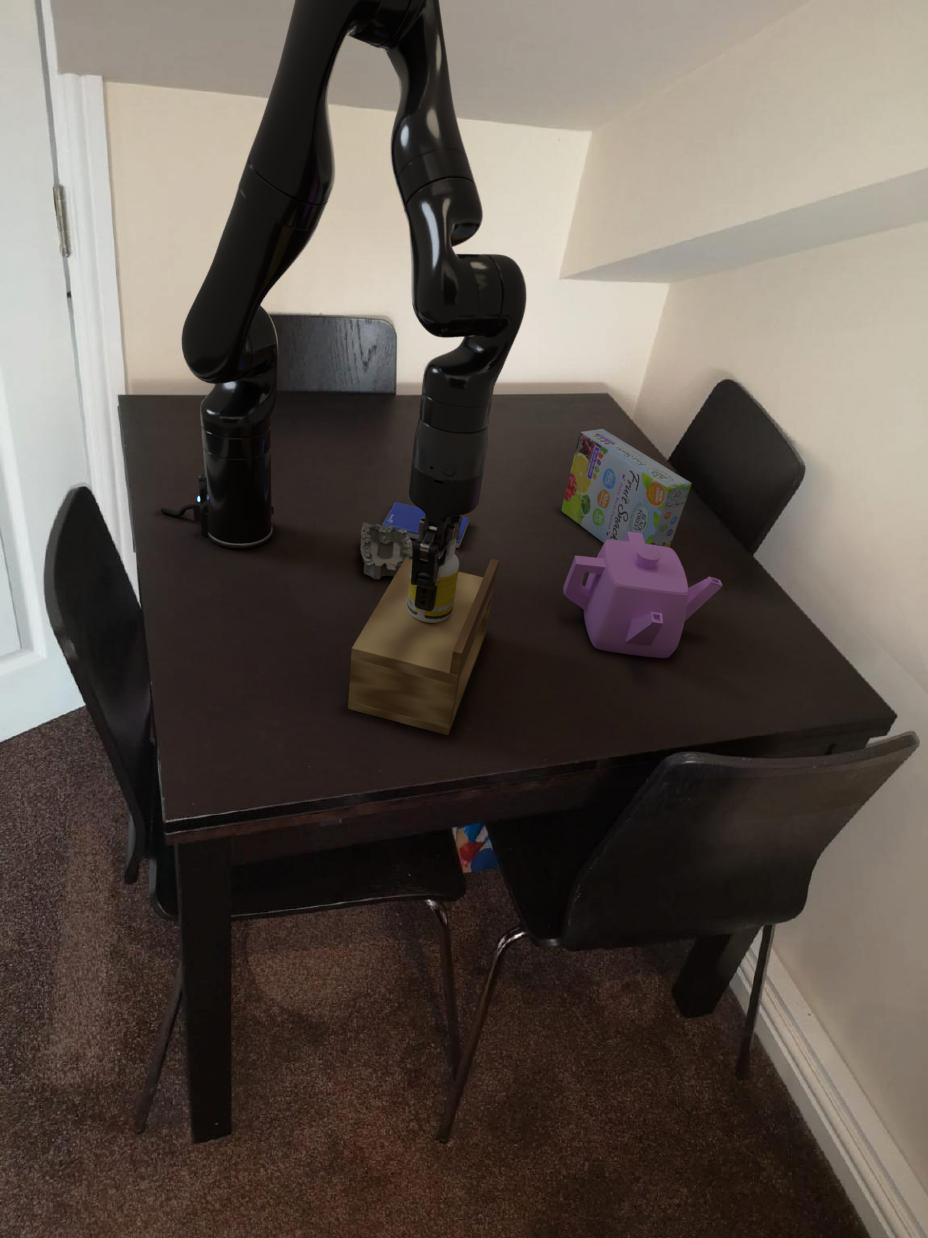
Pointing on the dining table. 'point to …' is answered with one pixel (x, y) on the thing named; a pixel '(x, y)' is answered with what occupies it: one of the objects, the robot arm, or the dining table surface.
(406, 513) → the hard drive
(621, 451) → the snack box
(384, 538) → the egg carton
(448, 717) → the lipped wooden block
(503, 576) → the dining table surface
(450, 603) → the supplement bottle
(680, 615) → the teakettle
